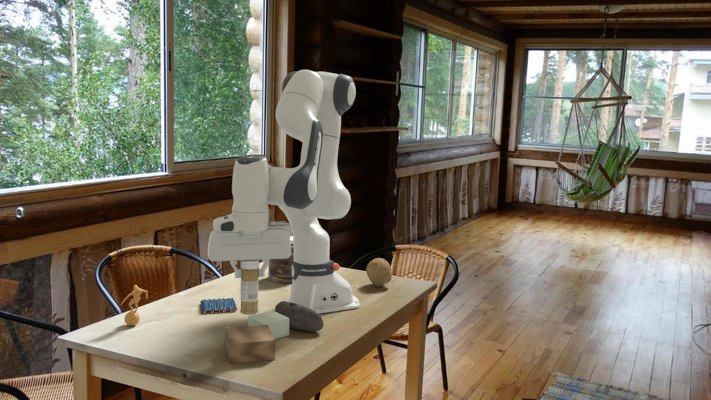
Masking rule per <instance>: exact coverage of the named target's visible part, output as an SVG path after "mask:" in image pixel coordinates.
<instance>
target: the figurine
mask: <svg viewBox="0 0 711 400" xmlns="http://www.w3.org/2000/svg"><path fill="white" fill-rule="evenodd" d="M142 293H145V296H144V297H145V298H146V299H149V296H148V293H149V292H148V290H145V289H143V288H140V287H139V286H138V285H137V284H133V290H132V291H130V293H129V294H128V295H127V296H126V297H124V298H123V300H122V302H121V304H120V306H122V305H123V304H124V302H125V301H127V300H128V298H129V297H131V296H133V298H131V299H130V301H129V303H128V307H129V308H130V309H131V310H130V311H129V312H127V313H126V314H125V315H124V323H125V325H128V326H129V327H132V326H136V325H137V324H138V323H139V322H140V315H139V313H138V312H137V311H138V310H139V309H138V307H139V305H138V303H139V302H140V301H141V295H142ZM133 305H134V306H135V309H134V307H133Z"/></svg>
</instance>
